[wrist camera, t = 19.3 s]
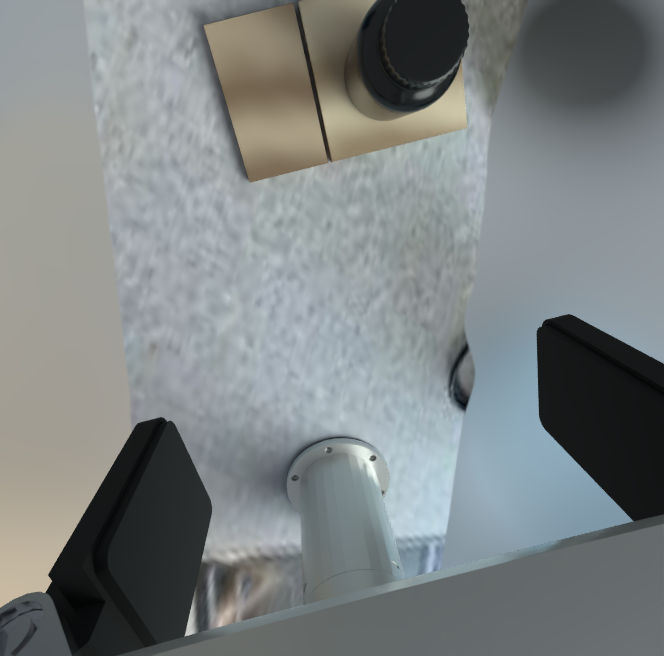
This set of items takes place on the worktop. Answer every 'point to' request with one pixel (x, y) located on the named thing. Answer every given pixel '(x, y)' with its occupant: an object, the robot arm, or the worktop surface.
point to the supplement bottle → (405, 56)
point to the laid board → (268, 91)
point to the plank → (335, 105)
